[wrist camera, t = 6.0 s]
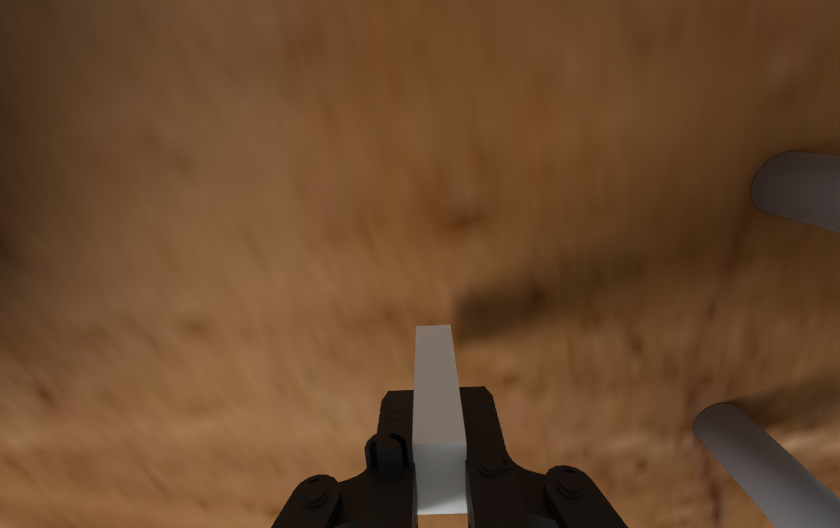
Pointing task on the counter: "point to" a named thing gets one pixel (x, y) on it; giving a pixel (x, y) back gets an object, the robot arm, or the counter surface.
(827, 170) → the post
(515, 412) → the counter surface
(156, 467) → the counter surface
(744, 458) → the post
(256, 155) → the counter surface
